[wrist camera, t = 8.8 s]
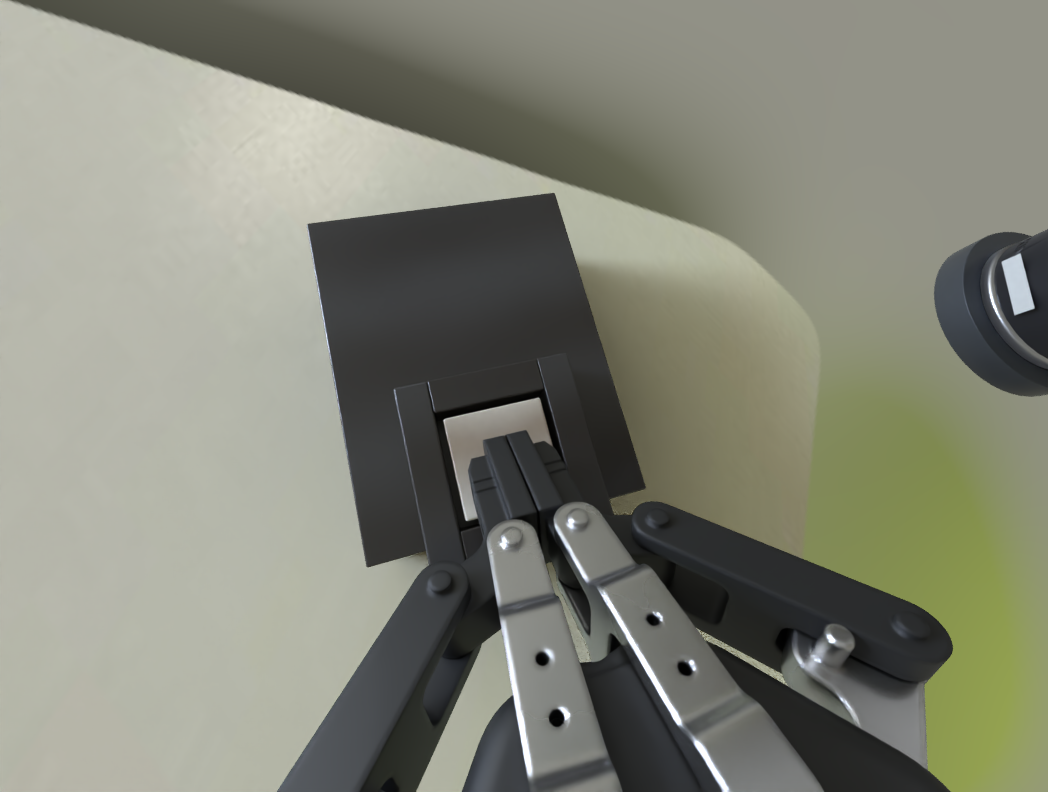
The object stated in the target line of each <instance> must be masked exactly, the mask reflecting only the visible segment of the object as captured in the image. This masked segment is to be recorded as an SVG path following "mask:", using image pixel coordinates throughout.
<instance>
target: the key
mask: <svg viewBox="0 0 1048 792" xmlns="http://www.w3.org/2000/svg"><path fill="white" fill-rule="evenodd" d="M443 422H444V428H445V432H446V437H447V441H448V446H449V450H450V455H451V459H452V464H453V468H454V473H455V477H456V482H457V486H458V491H459V495H460V500H461V504H462V509H463V513H464V518H465V520H466V521H470V520H474V519H478V517H477V513H476V509H475V506H474V501H473V496H472V491H471V485H470V480H469V475H468V468H469V464H470V461H471V459H472V458H476V457H480V456H484V448H483V440H485V439H489V438H494V437H498V436H502V435H504V436H505V435H506V434H510V433H514V432H518V431H523V430H527V432H528V434H529V436H530V438H531V440H532V442H533V443H537V442H541V441H546V442H547V443H548V444H550V445H551V446H553V444H552V440H551V437H550V433H549V429H548V426H547V422H546V418H545V415H544V411H543V407H542V404H541V400H540V398H535V399H530V400H526V401H521V402H517V403H513V404H508V405H504V406H499V407H495V408H490V409H486V410H481V411H477V412H472V413H468V414H463V415H459V416H455V417H450V418H446V419H444V420H443Z"/></svg>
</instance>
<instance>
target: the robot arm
mask: <svg viewBox="0 0 1048 792" xmlns="http://www.w3.org/2000/svg"><path fill="white" fill-rule="evenodd" d="M980 290H981V297H982V301H983V305H984V308H985V310H986V313H987V315H988V317H989V319H990V321H991V323H992V325H993V326H994V328H995V329H996V331H997V332H998V334H999V335H1000V336H1001V338H1002V339H1003V340H1004V341H1005V342H1006V343H1007V344H1008V345H1009V346H1010V347H1011V348H1012V349H1013V350H1014V351H1015V352H1016V353H1018V354H1019V355H1020V356H1022V357H1023V358H1024V359H1026V360H1028V361H1029V362H1031V363H1033V364H1035V365H1037V366H1039V367H1042V368H1045V369H1048V229H1047V230H1045V231H1043V232H1041V233H1039V234H1036V235H1034V236H1032V237H1030V238H1028V239H1026V240H1023V241H1021V242H1017V243H1014V244H1012V245H1009V246H1007V247H1005V248H1003V249H1001V250H999V251H997V252H995V253H994V254H993V255H991V256H990V257H989V259H988V260H987V261H986V263H985V265H984V267H983V270H982V273H981V279H980ZM483 448H484V456H480V457H476V458H472V459H471V461H470V464H469V468H468V475H469V480H470V485H471V491H472V496H473V501H474V506H475V509H476V513H477V517H478V520H479V524H480V528H481V532H482V535H483V539H484V540H483V542H482V545H481V546H480V548H479V549H478V550H477V552H476V553H475V554H473V555H472V556H471V557H470V558H468V559H466V560H465V561H463V562H462V563H460V564H459V563H456V562H454V561H446V560H445V561H439V562H435V563H433V564H431V565H429V566H427V567H426V568H425V569H424V570H423V571H422V572H421V573H420V574H419V575H418V576H417V578H416V580H415V581H414V583H413V584H412V586H411V587H410V589H409V590H408V592H407V593H406V595H405V596H404V598H403V599H402V601H401V603H400V604H399V606H398V607H397V609H396V610H395V612H394V613H393V615H392V616H391V618H390V619H389V621H388V622H387V624H386V625H385V627H384V629H383V630H382V632H381V633H380V635H379V636H378V638H377V639H376V641H375V642H374V644H373V645H372V647H371V648H370V650H369V651H368V653H367V655H366V656H365V658H364V659H363V661H362V662H361V664H360V665H359V667H358V668H357V670H356V671H355V673H354V674H353V676H352V677H351V679H350V681H349V682H348V684H347V685H346V687H345V688H344V690H343V691H342V693H341V694H340V696H339V697H338V699H337V700H336V702H335V704H334V705H333V707H332V708H331V710H330V711H329V713H328V714H327V716H326V717H325V719H324V720H323V722H322V723H321V725H320V726H319V728H318V730H317V731H316V733H315V734H314V736H313V737H312V739H311V740H310V742H309V743H308V745H307V746H306V748H305V749H304V751H303V752H302V754H301V756H300V757H299V759H298V760H297V762H296V763H295V765H294V766H293V768H292V769H291V771H290V772H289V774H288V775H287V777H286V778H285V780H284V782H283V783H282V785H281V786H280V788H279V789H278V791H277V792H416V790H417V788H418V786H419V784H420V782H421V779H422V777H423V775H424V773H425V771H426V768H427V766H428V764H429V762H430V759H431V757H432V755H433V753H434V751H435V748H436V746H437V744H438V742H439V740H440V737H441V735H442V733H443V731H444V729H445V726H446V724H447V722H448V720H449V717H450V715H451V713H452V711H453V709H454V706H455V704H456V702H457V700H458V698H459V695H460V693H461V691H462V689H463V687H464V684H465V682H466V680H467V678H468V676H469V673H470V671H471V669H472V667H473V664H474V662H475V660H476V658H477V656H478V653H479V651H480V648H481V645H482V643H483V642H484V641H486V640H487V639H488V638H490V637H491V636H492V635H493V634H495V633H496V632H497V631H499V630H500V629H501V628H502V634H503V640H504V645H505V651H506V657H507V663H508V668H509V674H510V680H511V685H512V691H513V695H512V696H511V697H510V698H509V699H508V700H507V701H506V702H505V703H504V704H503V705H502V706H501V707H500V708H499V709H498V711H497V712H496V713H495V714H494V716H493V717H492V719H491V720H490V722H489V724H488V725H487V727H486V729H485V731H484V733H483V735H482V737H481V740H480V742H479V745H478V748H477V751H476V753H475V756H474V759H473V762H472V765H471V768H470V770H469V773H468V776H467V779H466V782H465V784H464V787H463V790H462V792H950V791H949V790H948V789H947V788H946V786H944V785H943V783H941V782H940V781H939V780H938V779H937V778H936V777H935V776H934V775H933V774H931V773H930V772H929V771H928V766H927V742H926V718H925V717H926V716H925V691H924V685H925V683H926V682H927V681H928V680H929V679H930V678H931V677H932V676H933V674H935V672H936V671H937V670H938V669H939V668H940V667H941V666H942V665H943V664H944V663H945V662H946V661H947V659H948V658H949V657H950V656H951V654H952V651H953V645H952V641H951V638H950V636H949V634H948V633H947V631H946V630H945V628H944V627H943V626H942V625H941V624H940V623H939V622H938V621H937V620H936V619H935V618H934V617H933V616H932V615H930V614H929V613H928V612H926V611H925V610H923V609H922V608H920V607H918V606H917V605H915V604H912V603H910V602H908V601H905V600H903V599H900V598H898V597H895V596H893V595H890V594H888V593H885V592H883V591H881V590H878V589H875V588H873V587H870V586H868V585H866V584H863V583H861V582H858V581H856V580H853V579H851V578H848V577H846V576H843V575H841V574H838V573H836V572H834V571H831V570H829V569H826V568H824V567H821V566H819V565H816V564H814V563H811V562H809V561H806V560H804V559H801V558H799V557H796V556H794V555H791V554H789V553H787V552H784V551H782V550H779V549H777V548H774V547H772V546H769V545H767V544H764V543H762V542H759V541H757V540H754V539H752V538H749V537H747V536H744V535H742V534H739V533H737V532H735V531H732V530H730V529H727V528H725V527H722V526H720V525H717V524H715V523H712V522H710V521H707V520H705V519H702V518H700V517H697V516H695V515H692V514H690V513H687V512H685V511H683V510H680V509H678V508H675V507H673V506H670V505H668V504H665V503H662V502H655V501H653V502H645V503H642V504H640V505H639V506H638V507H636V508H635V510H634V512H633V515H608V514H604V513H601V512H599V511H598V510H597V509H596V508H595V507H594V506H592V505H590V504H588V503H586V501H585V500H584V498H583V496H582V494H581V493H580V491H579V489H578V487H577V486H576V484H575V482H574V480H573V479H572V477H571V475H570V473H569V471H568V470H567V469H566V466H565V464H564V463H563V461H562V460H561V457H560V456H559V454H558V452H557V450H556V449H555V448H554V447H553V446H551V445H550V444H548V443H547V442H546V441H541V442H537V443H533V442H532V440H531V438H530V436H529V434H528V432H527V430H523V431H518V432H514V433H510V434H506V435H505V436H504V435H502V436H498V437H494V438H489V439H485V440H483ZM550 562H552V563H553V566H554V568H555V571H556V581H557V585H558V588H559V590H560V592H561V594H562V596H563V598H564V600H565V602H566V604H567V606H568V608H569V610H570V612H571V614H572V616H573V618H574V620H575V622H576V624H577V626H578V628H579V630H580V632H581V634H582V636H583V638H584V640H585V643H586V645H587V648H588V651H589V655H590V659H591V662H583V663H580V662H579V659H578V655H577V652H576V649H575V646H574V643H573V639H572V636H571V633H570V630H569V626H568V623H567V620H566V617H565V613H564V610H563V607H562V604H561V601H560V599H559V597H558V596H556V595H555V593H554V590H553V587H552V583H551V580H550V577H549V573H548V570H547V567H546V563H550ZM695 627H696V628H697V629H699V630H701V631H703V632H705V633H707V634H709V635H710V636H712V637H714V638H716V639H718V640H720V641H722V642H724V643H725V644H727V645H729V646H731V647H733V648H735V649H737V650H738V651H740V652H742V653H744V654H746V655H748V656H750V657H752V658H753V659H755V660H757V661H759V662H761V663H763V664H765V665H767V666H768V667H770V668H772V669H774V670H776V671H778V672H780V673H781V674H782V675H783V677H784V680H785V682H786V683H787V685H788V686H789V687H788V686H786V685H785V684H783V683H781V682H780V681H778V680H776V679H774V678H773V677H771V676H769V675H767V674H766V673H764V672H762V671H761V670H759V669H757V668H755V667H754V666H752V665H750V664H748V663H747V662H745V661H743V660H742V659H740V658H738V657H736V656H735V655H733V654H731V653H729V652H728V651H726V650H724V649H722V648H721V647H719V646H717V645H714V644H712V643H710V642H707V641H705V640H704V638H703V637H702V636H701V634H700V633H699V632H698V630H697V629H696V628H695Z"/></svg>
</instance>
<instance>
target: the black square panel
mask: <svg viewBox="0 0 1048 792" xmlns="http://www.w3.org/2000/svg"><path fill="white" fill-rule="evenodd" d="M307 229H308V235H309V241H310V246H311V252H312V258H313V263H314V269H315V275H316V281H317V286H318V292H319V298H320V303H321V309H322V315H323V321H324V326H325V332H326V338H327V344H328V349H329V355H330V361H331V366H332V372H333V378H334V384H335V389H336V395H337V401H338V406H339V412H340V418H341V424H342V429H343V435H344V441H345V447H346V452H347V458H348V464H349V469H350V475H351V481H352V487H353V492H354V498H355V504H356V509H357V515H358V521H359V527H360V532H361V538H362V544H363V549H364V555H365V561H366V566H367V567H371V566H375V565H378V564H382V563H385V562H389V561H392V560H396V559H399V558H403V557H407V556H410V555H414V554H417V553H421V552H424V551H426V554H427V559H428V564H429V565H431V564H433V563H435V562H439V561H445V560H446V561H454V562H456V563H459V564H460V563H462V562H463V561H465V560H466V559H468V558H470V557H471V556H472V555H473V554H475V553H476V552H477V550H478V549H479V548H480V546H481V545H482V542H483V540H484V539H483V535H482V532H481V528H480V524H479V520H478V519H474V520H470V521H466V520H465V518H464V513H463V509H462V504H461V500H460V495H459V491H458V486H457V482H456V477H455V473H454V468H453V464H452V459H451V455H450V450H449V446H448V441H447V437H446V432H445V428H444V422H443V420H444V419H446V418H450V417H455V416H459V415H463V414H468V413H472V412H477V411H481V410H486V409H490V408H495V407H499V406H504V405H508V404H513V403H517V402H521V401H526V400H530V399H535V398H540V400H541V404H542V407H543V411H544V415H545V418H546V422H547V426H548V429H549V433H550V437H551V440H552V444H553V447H554V448H555V449H556V450H557V452H558V454H559V456H560V457H561V460H562V461H563V463H564V464H565V466H566V469H567V470H568V471H569V473H570V475H571V477H572V479H573V480H574V482H575V484H576V486H577V487H578V489H579V491H580V493H581V494H582V496H583V498H584V500H585V501H586V503H588V504H590V505H592V506H594V507H595V508H596V509H597V510H598V511H599V512H601V513H604V514H608V515H614V514H613V511H612V507H611V504H610V500H609V499H611V498H615V497H618V496H622V495H626V494H629V493H633V492H636V491H640V490H643V489H645V488H646V486H645V483H644V480H643V477H642V474H641V470H640V467H639V464H638V461H637V457H636V454H635V451H634V448H633V445H632V441H631V438H630V435H629V432H628V428H627V425H626V422H625V419H624V415H623V412H622V409H621V406H620V403H619V399H618V396H617V393H616V390H615V386H614V383H613V380H612V377H611V374H610V370H609V367H608V364H607V361H606V357H605V354H604V351H603V348H602V344H601V341H600V338H599V335H598V332H597V328H596V325H595V322H594V319H593V315H592V312H591V309H590V306H589V303H588V299H587V296H586V293H585V290H584V286H583V283H582V280H581V277H580V273H579V270H578V267H577V264H576V261H575V257H574V254H573V251H572V248H571V244H570V241H569V238H568V235H567V232H566V228H565V225H564V222H563V219H562V215H561V212H560V209H559V206H558V202H557V199H556V196H555V193H549V194H541V195H533V196H525V197H518V198H510V199H502V200H494V201H486V202H478V203H470V204H462V205H454V206H446V207H438V208H430V209H422V210H414V211H406V212H398V213H390V214H382V215H375V216H367V217H359V218H351V219H343V220H335V221H327V222H319V223H311V224H307Z"/></svg>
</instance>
